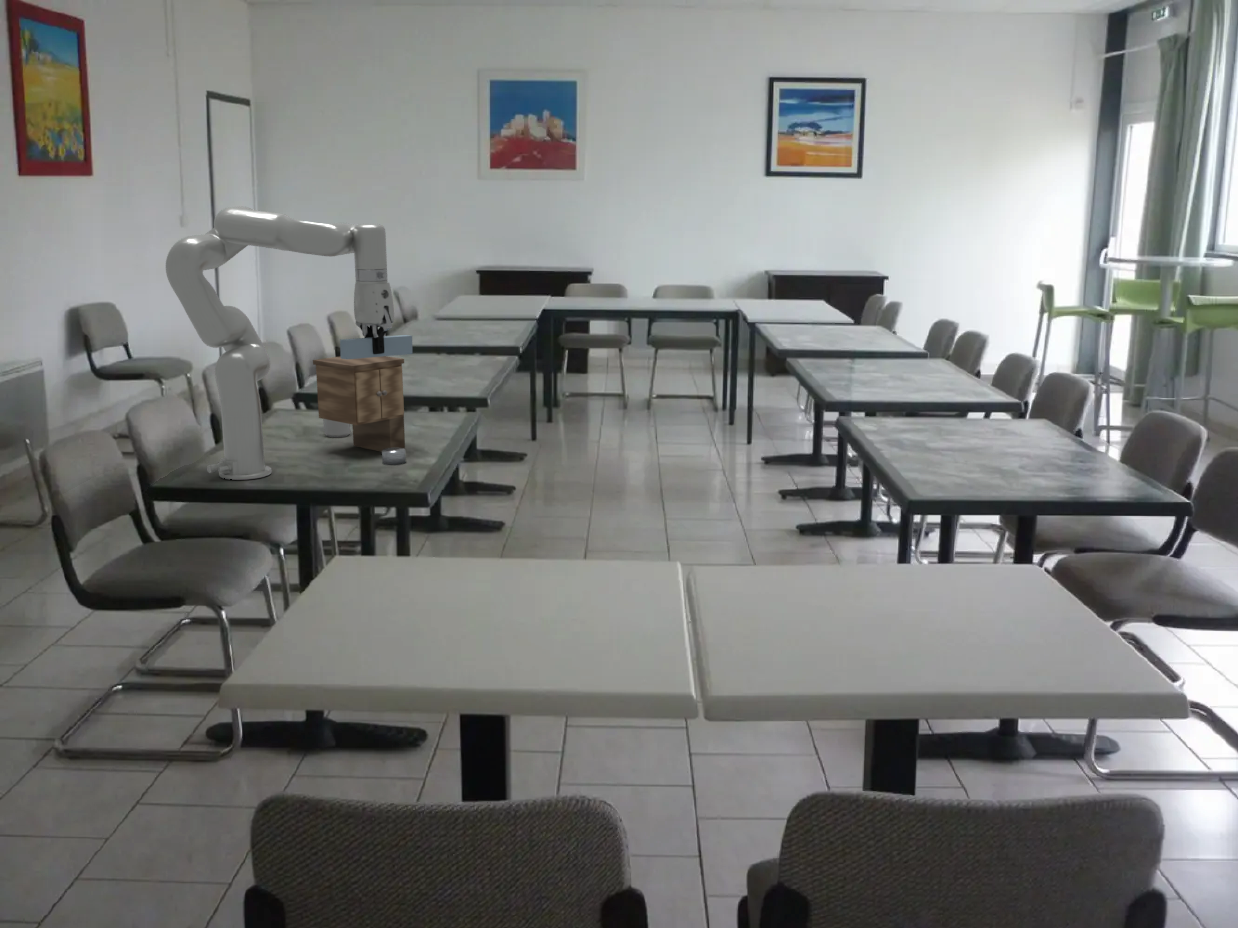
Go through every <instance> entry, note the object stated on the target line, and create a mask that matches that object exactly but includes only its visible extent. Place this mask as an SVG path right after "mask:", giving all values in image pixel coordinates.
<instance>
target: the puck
mask: <svg viewBox="0 0 1238 928" xmlns="http://www.w3.org/2000/svg"><path fill="white" fill-rule="evenodd" d="M381 454H382V455H381V456H382V457H381V463H382V464H383V465H385V466H400V465H403V464H406V462H407V459H406V458H407V457H406V456H407V455H406V448H405V449H404V448H397V447H394V448H385V449H383V450H382V452H381Z"/></svg>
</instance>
